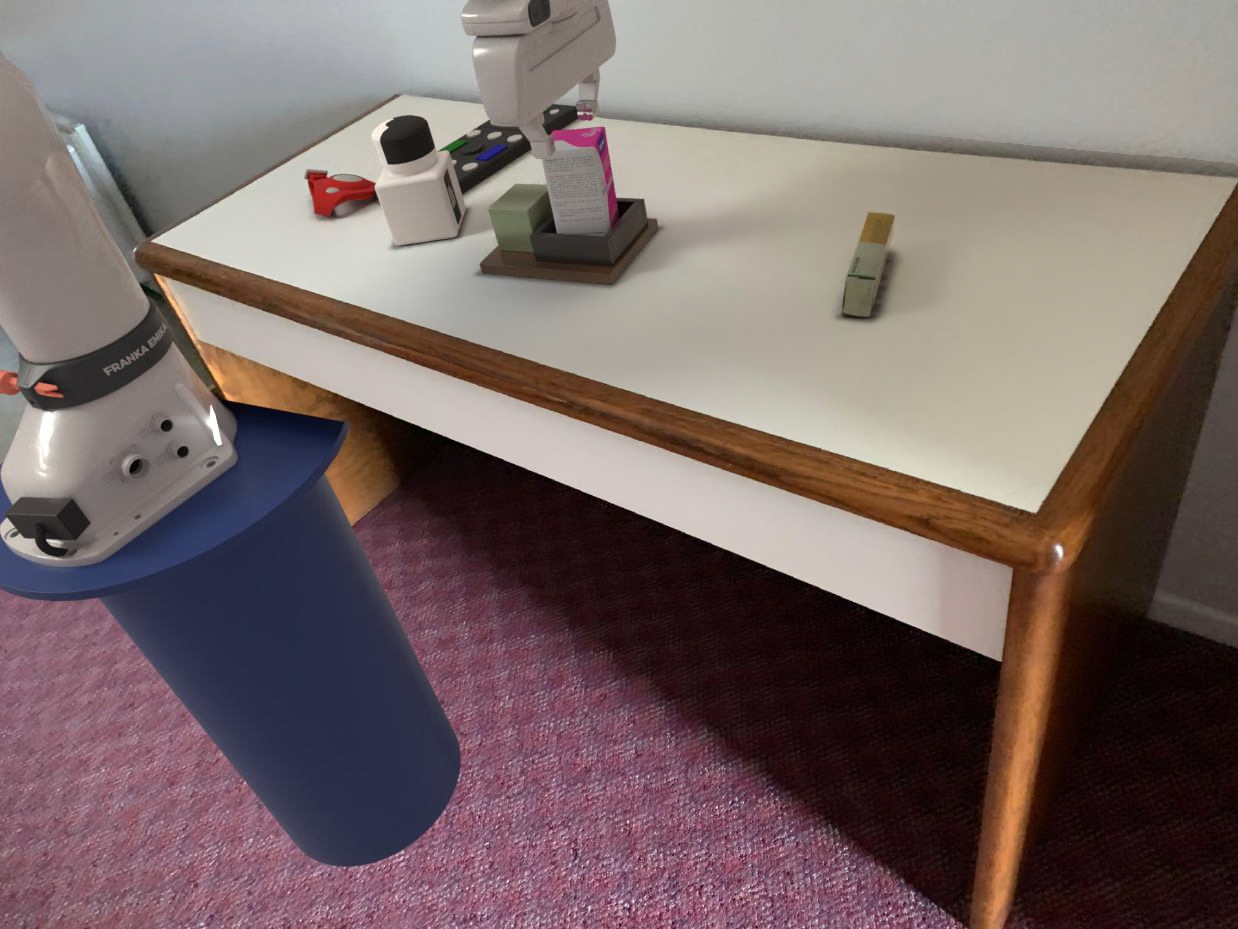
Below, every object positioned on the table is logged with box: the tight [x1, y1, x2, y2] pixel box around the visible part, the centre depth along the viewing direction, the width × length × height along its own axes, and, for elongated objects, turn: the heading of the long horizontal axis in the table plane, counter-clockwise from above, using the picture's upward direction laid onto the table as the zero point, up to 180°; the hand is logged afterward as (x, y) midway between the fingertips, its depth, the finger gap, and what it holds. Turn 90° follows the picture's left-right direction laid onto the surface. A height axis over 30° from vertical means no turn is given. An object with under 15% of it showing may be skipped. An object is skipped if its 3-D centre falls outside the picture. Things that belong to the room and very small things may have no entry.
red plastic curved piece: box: [303, 168, 377, 217], centre depth 123 cm, size 12×4×10 cm
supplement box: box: [541, 126, 620, 237], centre depth 96 cm, size 6×6×12 cm
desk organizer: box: [479, 183, 659, 285], centre depth 100 cm, size 12×16×6 cm
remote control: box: [373, 103, 579, 202], centre depth 127 cm, size 11×30×2 cm, turn 144°
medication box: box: [841, 211, 896, 319], centre depth 85 cm, size 12×3×4 cm, turn 160°
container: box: [370, 114, 467, 247], centre depth 108 cm, size 8×8×13 cm
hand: (568, 136), depth 92 cm, fingers open, 8 cm apart
